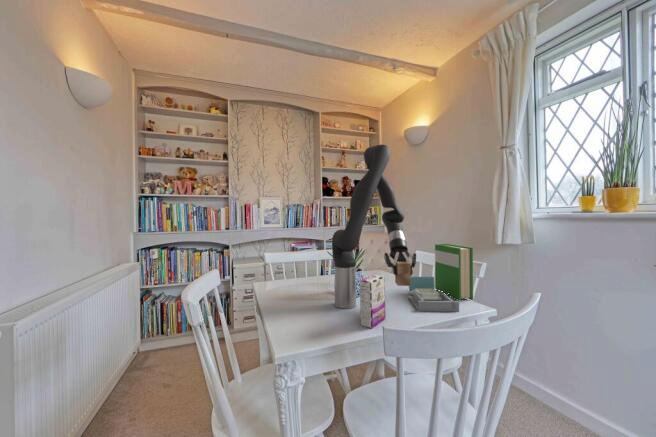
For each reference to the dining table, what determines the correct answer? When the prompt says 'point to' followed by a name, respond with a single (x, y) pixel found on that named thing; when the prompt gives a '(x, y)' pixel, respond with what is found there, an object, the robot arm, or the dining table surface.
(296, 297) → the dining table surface
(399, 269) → the walnut block
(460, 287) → the hardback book
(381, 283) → the candy bar box
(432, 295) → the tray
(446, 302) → the dock
